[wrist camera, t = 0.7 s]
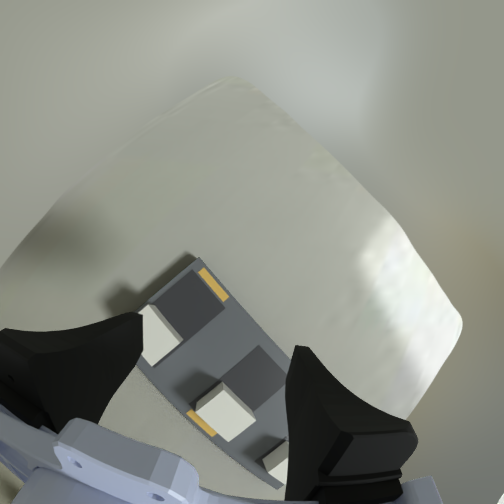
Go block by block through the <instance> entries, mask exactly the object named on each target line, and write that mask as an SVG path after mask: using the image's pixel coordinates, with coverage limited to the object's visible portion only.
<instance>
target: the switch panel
mask: <svg viewBox="0 0 504 504" xmlns="http://www.w3.org/2000/svg"><path fill="white" fill-rule="evenodd" d="M147 305H155V306H156V307H157V309H158V310H159V311H160V312H161V314H162V315H163V316H164V317H165V318H166V320H167V321H168V322H169V323H170V324H171V326H172V327H173V328H174V329H175V330H176V332H177V333H178V334H179V335H180V336H181V337H182V338H183V340H182V342H181V343H179V344H178V345H177V346H176V347H175V348H174V349H172V350H171V351H170V352H169V353H168V354H166V355H165V356H164V357H163V358H162V359H160V360H159V361H158V362H157V363H156V364H154V365H153V366H151V365H150V364H149V363H148V362H147V361H146V360H145V358H144V357H143V356H142V355H141V356H140V358H139V360H138V362H137V363H136V365H137V366H138V367H139V369H140V370H141V371H142V372H143V373H144V374H145V375H146V377H147V378H148V379H149V380H150V381H151V382H152V383H153V384H154V385H155V387H156V388H157V389H158V390H159V391H160V392H161V393H162V394H163V395H164V396H165V397H166V398H167V399H168V400H169V401H170V402H171V403H172V404H173V405H174V406H175V407H176V408H177V409H178V410H179V411H180V412H181V413H182V414H183V415H184V416H185V417H186V418H187V419H188V420H189V421H190V422H191V423H192V424H193V425H194V426H195V427H197V428H198V429H199V430H200V431H201V432H202V433H203V434H204V435H205V436H207V437H208V438H209V439H210V440H211V441H212V442H214V443H215V444H216V445H217V446H218V447H219V448H221V449H222V450H223V451H224V452H226V453H227V454H228V455H229V456H231V457H232V458H233V459H234V460H236V461H237V462H238V463H240V464H241V465H242V466H244V467H245V468H246V469H248V470H249V471H250V472H252V473H253V474H254V475H256V476H257V477H259V478H260V479H262V480H263V481H264V482H266V483H267V484H269V485H270V486H272V487H273V488H275V489H279V488H280V487H282V486H283V485H284V484H283V483H282V482H280V481H279V480H277V479H276V478H274V477H273V476H272V475H270V474H269V473H268V472H267V470H266V467H265V465H264V462H263V460H262V459H263V458H265V457H266V456H267V455H269V454H270V453H271V452H273V451H274V450H275V449H276V448H278V447H279V446H280V445H281V444H283V443H284V442H285V441H288V442H289V434H288V424H287V414H286V404H285V381H286V376H287V373H288V370H289V366H290V363H291V360H290V359H289V358H288V357H287V355H286V354H285V353H284V352H283V351H282V350H281V349H280V348H279V347H278V346H277V345H276V344H275V343H274V342H273V340H272V339H271V338H270V337H269V336H268V335H267V334H266V333H265V332H264V331H263V330H262V328H261V327H260V326H259V325H258V324H257V323H256V322H255V321H254V320H253V318H252V317H251V316H250V315H249V314H248V313H247V312H246V311H245V309H244V308H243V307H242V306H241V305H240V304H239V303H238V302H237V300H236V299H235V298H234V297H233V296H232V295H231V294H230V292H229V291H228V290H227V289H226V288H225V287H224V286H223V284H222V283H221V282H220V281H219V280H218V279H217V277H216V276H215V275H214V274H213V273H212V272H211V270H210V269H209V268H208V267H207V266H206V265H205V263H204V262H203V261H202V260H201V259H200V257H198V258H197V259H196V260H195V261H194V262H192V263H191V264H190V265H189V266H188V267H186V268H185V269H184V270H183V271H182V272H180V273H179V274H178V275H177V276H176V277H174V278H173V279H172V280H171V281H170V282H169V283H167V284H166V285H165V286H164V287H163V288H161V289H160V290H159V291H158V292H157V293H156V294H154V295H153V296H152V297H151V298H150V299H149V300H147V301H146V302H145V303H144V304H143V305H142V306H140V307H139V308H138V309H137V310H136V311H135V313H139V312H140V311H141V310H142V309H143V308H145V307H146V306H147ZM221 382H223V383H224V384H225V385H226V386H227V387H228V388H229V389H230V390H231V391H232V392H233V393H234V394H235V395H236V396H237V397H238V398H240V399H241V400H242V401H243V402H244V403H245V404H246V405H247V406H248V407H249V408H250V409H251V410H252V412H253V414H254V417H255V419H256V421H255V422H254V423H253V424H251V425H250V426H249V427H248V428H246V429H245V430H244V431H242V432H241V433H240V434H239V435H237V436H236V437H235V438H233V439H232V440H231V441H229V442H228V441H226V440H225V439H224V438H223V437H222V436H221V435H219V434H218V433H217V432H216V431H215V430H214V429H213V428H211V427H210V426H209V425H208V424H207V423H206V422H205V421H204V420H203V419H202V418H201V417H200V416H198V415H197V414H196V413H195V411H196V404H197V402H198V401H199V400H200V399H201V398H203V397H204V396H205V395H206V394H208V393H209V392H210V391H211V390H213V389H214V388H215V387H216V386H217V385H219V384H220V383H221Z"/></svg>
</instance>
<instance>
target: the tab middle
mask: <svg viewBox="0 0 504 504" xmlns="http://www.w3.org/2000/svg"><path fill="white" fill-rule="evenodd" d="M195 413H196V414H197V415H198V416H200V417H201V418H202V419H203V420H204V421H205V422H206V423H207V424H208V425H209V426H210V427H211V428H213V429H214V430H215V431H216V432H217V433H218V434H219V435H221V436H222V437H223V438H224V439H225V440H226V441H228V442H229V441H231V440H232V439H233V438H235V437H236V436H237V435H239V434H240V433H241V432H242V431H244V430H245V429H246V428H248V427H249V426H250V425H251V424H253V423H254V422H255V421H256V419H255V417H254V414H253V412H252V410H251V409H250V408H249V407H248V406H247V405H246V404H245V403H244V402H243V401H242V400H241V399H240V398H238V397H237V396H236V395H235V394H234V393H233V392H232V391H231V390H230V389H229V388H228V387H227V386H226V385H225V384H224V383H223V382H221V383H220V384H219V385H217V386H216V387H215V388H214V389H213V390H211V391H210V392H209V393H208V394H206V395H205V396H204V397H203V398H201V399H200V400H199V401H198V402H197V404H196V411H195Z"/></svg>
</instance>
